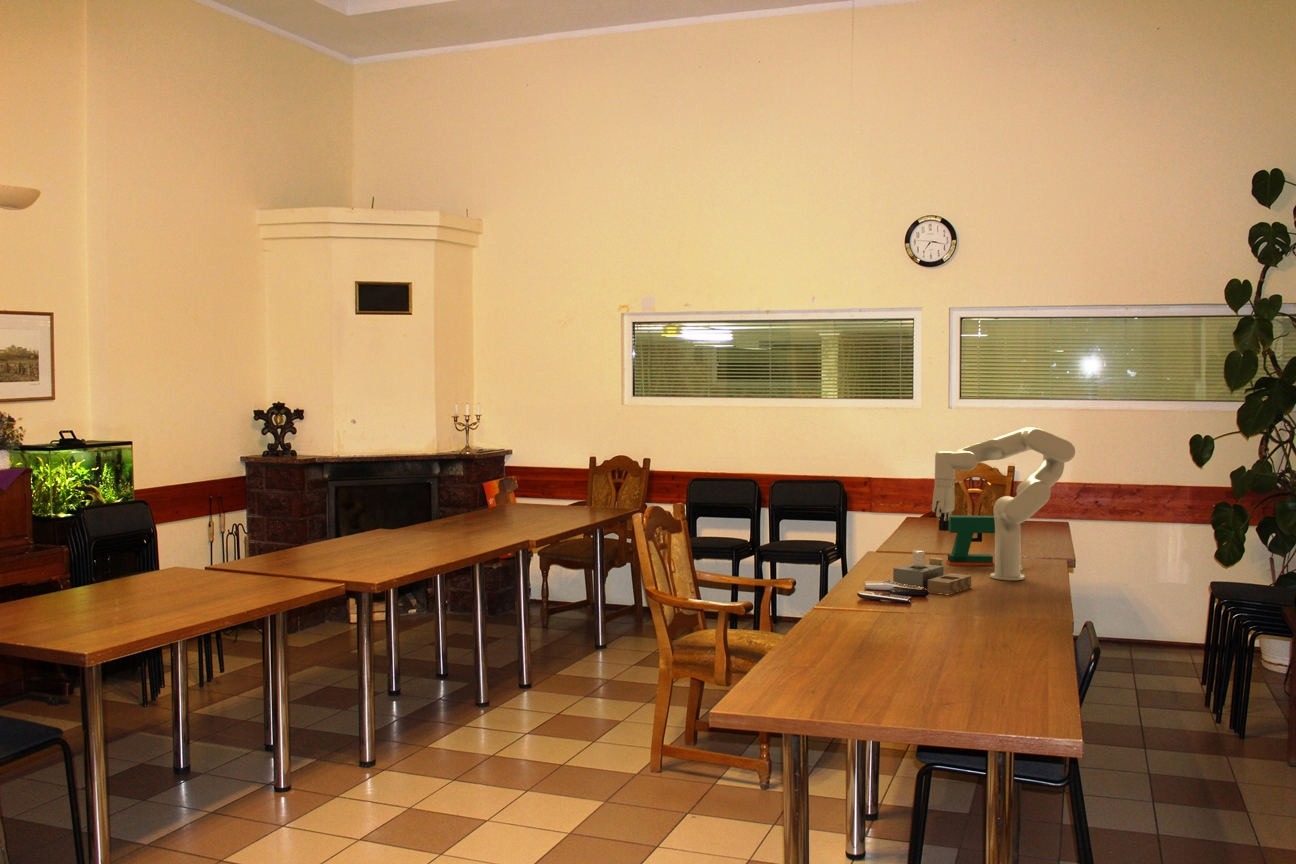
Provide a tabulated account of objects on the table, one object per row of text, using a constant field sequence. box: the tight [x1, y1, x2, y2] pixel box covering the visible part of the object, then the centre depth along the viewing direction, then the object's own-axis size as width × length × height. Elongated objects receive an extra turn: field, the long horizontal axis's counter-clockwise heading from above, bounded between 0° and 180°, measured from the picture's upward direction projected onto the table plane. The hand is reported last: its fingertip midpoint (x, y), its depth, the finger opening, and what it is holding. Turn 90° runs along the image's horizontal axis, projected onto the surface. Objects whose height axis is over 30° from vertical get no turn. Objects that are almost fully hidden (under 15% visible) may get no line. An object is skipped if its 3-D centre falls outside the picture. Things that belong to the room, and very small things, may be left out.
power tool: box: [945, 514, 1027, 566], centre depth 442 cm, size 32×7×20 cm, turn 84°
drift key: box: [928, 557, 944, 566], centre depth 404 cm, size 8×5×7 cm, turn 138°
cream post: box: [912, 549, 926, 569], centre depth 395 cm, size 4×4×13 cm
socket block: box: [892, 562, 945, 589], centre depth 396 cm, size 16×12×7 cm
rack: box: [927, 573, 972, 595], centre depth 387 cm, size 18×8×4 cm, turn 138°
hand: (943, 530), depth 410 cm, fingers closed
